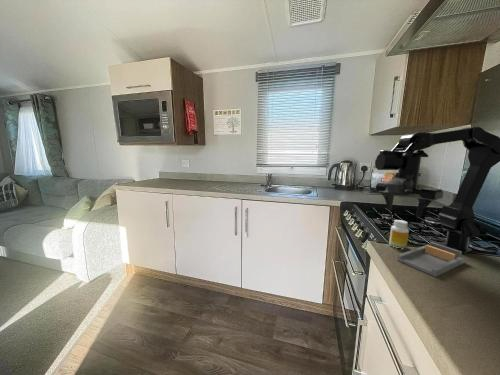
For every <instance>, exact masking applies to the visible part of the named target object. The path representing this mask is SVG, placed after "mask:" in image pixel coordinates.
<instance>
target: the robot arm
mask: <svg viewBox="0 0 500 375" xmlns="http://www.w3.org/2000/svg"><path fill="white" fill-rule="evenodd" d="M458 141H459V142H460V141H461V142H462V144H463V148H465V149H466V150H467V151H468V153H467V158H468V161H469V165H468V168H467V171H466V173H465V175H464V177H463V180H462V181H461V183H460V187H459V188H458V191H457V193H456V195H455V197H454V200H453V202H452V203H450V204H449V205H446V204H445V205H443V206H442V207H441V211H440V212H439V213H438V220H439V222H440V224H441V228H442V229H444V230H446V231H447V232H446V233H447V234H446V239H445V243H442V244H441V245H443V246H446V247H449V248H452V249H455V250H459V251H462V254H467V253H468V252H471V251H472V248H470V247H468V246H469V241H470V239H473V238H478V237H479V235H480V234H481V231H480V229H478V227H477V226H476V225H475V224H474V221H475V218H476V217H475V216H476V215H475V212H474V210H473V207H474V205H475V202H476V201H477V198H478V196H479V194H480V192H481V190H482V188H483V185H484V183H485V182H486V179H487V177H488V175H489V172H490V171H491V169H492V168H493V167H494V166H496V165H497V164H499V163H500V136H499V135H496V134H493V133H490V132H488V131H486V130H485V129H484V128H482V127H480V126H469V127H464V128H461V129H460V128H459V129H454V130H448V131H447V130H446V131H440V132H415V133H414V132H412V133H407V134H406V133H405V134H403V135H402V136H401V137H400V138H399V141H398V142H397V143H396V144H395V146H394V147H393V148H392V149H391V150H386V149H385V150H379V154H378V155H377V156H376V158H375V159H374V160H375V161H374V166H375V169H376V170H378V171H398V172H396V173H395V177H394V178H392V179H390V180H388V181H387V182H385V181H384V182H377V183H376V185H375V188H374V190H375V191H378V194H381V195H382V196H383V199H384V201H385V205H386V208H387V211H388V212H389V211H391V210H392V208H393V204H394V199H395V198H394V197H395V193H396V194H404V193H407V194H413V195H418V196H419V197H418V198H417V200H418V205H417V209H416V214H415V215H416V216H415V217H416V218H419V217H420V216H421V215H422V214H423V212H424V211H425V210H426V208H427V207H428V206H429V205H430V204H431V203H432V202H433V201H437V200H440V199H443V196H444V192H443V190H442V189H441V188H439V189H438V188H434V187H432V188H431V187H427V188H425V187H424V188H421V189H420V184H418V182H419V177H421V175H422V174H421V173H420V169H421V161H422V160H421V159H422V158H428V157H429V154H427V153H426V152H425V151H424V150H425V149H428V148H430V147H433V146H435V145H439V144H445V143H452V142H458Z"/></svg>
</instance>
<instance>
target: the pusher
mask: <svg viewBox="0 0 500 375" xmlns="http://www.w3.org/2000/svg"><path fill="white" fill-rule="evenodd" d="M425 245H426V246H425ZM425 245H424V246H425V253H428V254H430V255H433V256H436V257H439V258H441V259H444V260H447V261H451V260H453V259H455V254H453V253H450V252H447V251H444V250H441V249H438V248H435V247H432V246H429V245H430V244H425Z"/></svg>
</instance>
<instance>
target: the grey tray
mask: <svg viewBox="0 0 500 375" xmlns="http://www.w3.org/2000/svg"><path fill="white" fill-rule="evenodd" d="M426 245H427V244H425V245H423V246H420V247H417V248H414V249H411V250H407V251H405V252H402V253H399V254H397V259H396V260H397V261H398V262H401V263H403V264H405V265H408V266H409V267H412V268H414V269H416V270H419V271H421V272H423V273H426V274H427V275H429V276H432V277H434V278H436V277H438V276H440V275H442V274H444V273H447V272H449V271H451V270H453V269H454V268H456V267H460V266H461V265H463V264H465V262H466V257H465V256H462V254H463V253H462V251H459V250H455V249H452V248H449V247H446V246H443V245H442V244H440V243H436V242H433V241H430V242H429V244H428V245H429V246H432V247H435V248H438V249H441V250H444V251H447V252H450V253H453V254H455V259H453V260H451V261H447V260H444V259H441V258H439V257H436V256H433V255H430V254H428V253H425V246H426Z"/></svg>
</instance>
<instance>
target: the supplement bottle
mask: <svg viewBox="0 0 500 375" xmlns="http://www.w3.org/2000/svg"><path fill="white" fill-rule="evenodd" d="M393 221H394V222H393V225H392V226H390V233H389V240H388V245H389V246H390V245H391V246H393V247H392V248H394V247H396V248H395V249H397V248H401V249H400V250H404V249H403V248H406V247H408V242H409V241H408V240H409V232H410V230H409V228H408V221H406V220H400V219H395V220H393ZM391 246H390V247H391ZM406 249H407V248H406Z"/></svg>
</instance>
